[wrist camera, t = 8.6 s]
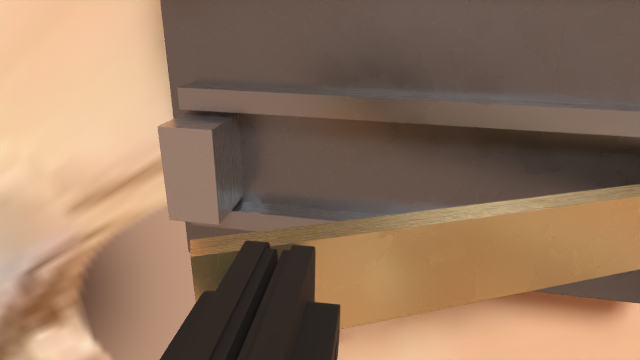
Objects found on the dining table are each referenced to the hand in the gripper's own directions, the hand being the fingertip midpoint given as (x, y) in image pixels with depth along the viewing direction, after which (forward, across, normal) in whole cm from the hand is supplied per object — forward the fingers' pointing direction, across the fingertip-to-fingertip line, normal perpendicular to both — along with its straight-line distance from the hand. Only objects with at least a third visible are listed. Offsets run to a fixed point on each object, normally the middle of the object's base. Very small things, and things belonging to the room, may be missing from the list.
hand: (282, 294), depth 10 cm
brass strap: (+5, -7, 0) cm, 8 cm away
